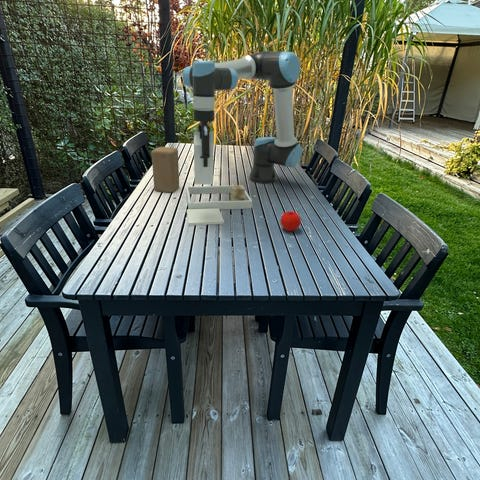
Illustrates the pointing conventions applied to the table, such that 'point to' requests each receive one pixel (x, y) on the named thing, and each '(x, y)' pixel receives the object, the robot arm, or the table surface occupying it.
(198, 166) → the milk carton
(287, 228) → the apple
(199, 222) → the tile
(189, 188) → the rectangular frame
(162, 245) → the table surface
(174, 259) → the table surface
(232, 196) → the oak block
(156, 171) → the wooden block
